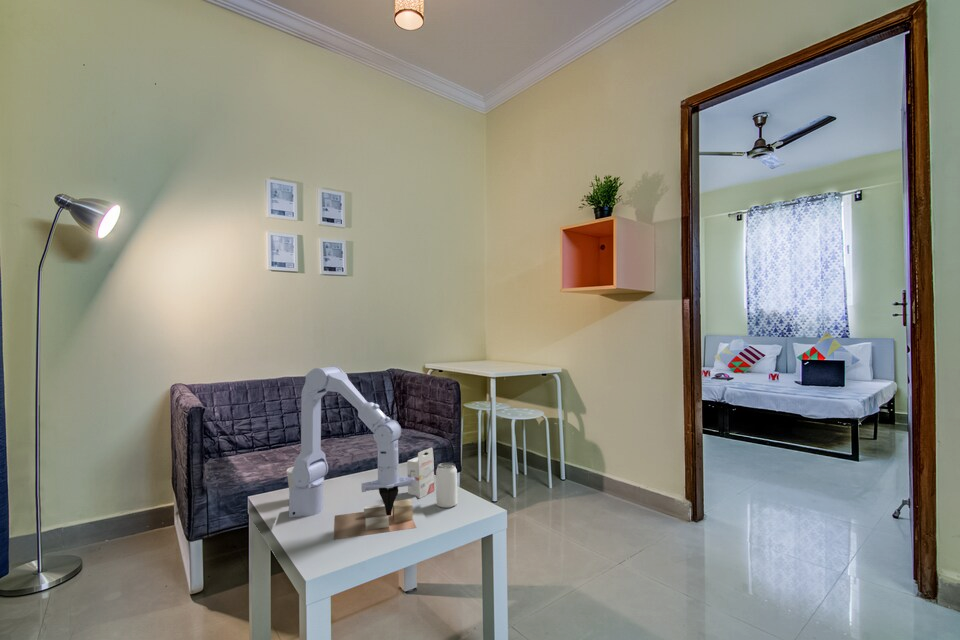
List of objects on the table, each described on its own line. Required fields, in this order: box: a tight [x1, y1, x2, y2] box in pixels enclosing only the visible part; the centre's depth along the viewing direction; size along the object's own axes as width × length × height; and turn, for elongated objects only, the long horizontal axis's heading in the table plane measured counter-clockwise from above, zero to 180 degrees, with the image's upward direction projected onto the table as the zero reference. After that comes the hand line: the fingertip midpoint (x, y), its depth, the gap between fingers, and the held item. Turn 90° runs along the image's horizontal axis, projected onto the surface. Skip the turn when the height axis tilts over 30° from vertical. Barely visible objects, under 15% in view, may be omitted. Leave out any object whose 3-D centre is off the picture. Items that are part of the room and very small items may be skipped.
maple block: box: [392, 498, 414, 522], centre depth 126 cm, size 5×5×4 cm
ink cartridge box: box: [406, 446, 435, 499], centre depth 148 cm, size 9×5×15 cm, turn 151°
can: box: [435, 462, 458, 509], centre depth 138 cm, size 6×6×12 cm
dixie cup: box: [285, 466, 295, 493], centre depth 144 cm, size 8×8×10 cm
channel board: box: [333, 503, 417, 541], centre depth 124 cm, size 21×16×4 cm
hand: (388, 514), depth 125 cm, fingers closed
